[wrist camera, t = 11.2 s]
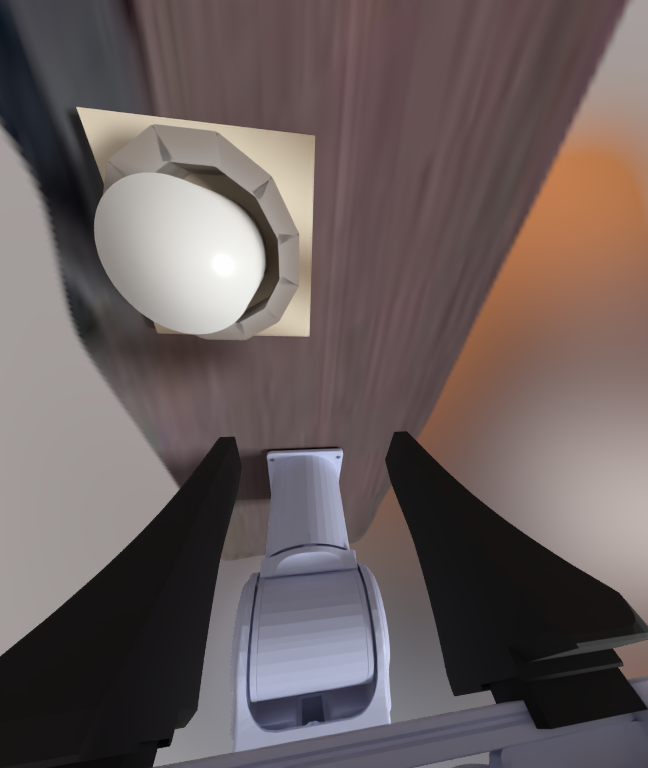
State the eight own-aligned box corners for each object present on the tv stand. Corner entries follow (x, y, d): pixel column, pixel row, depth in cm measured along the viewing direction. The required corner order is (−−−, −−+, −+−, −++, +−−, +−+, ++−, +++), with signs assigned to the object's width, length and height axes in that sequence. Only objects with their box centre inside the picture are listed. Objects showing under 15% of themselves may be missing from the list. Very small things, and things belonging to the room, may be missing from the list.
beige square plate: (308, 331, 17) (311, 352, 14) (164, 327, 16) (136, 350, 13) (313, 142, 12) (319, 115, 9) (93, 116, 11) (17, 75, 8)
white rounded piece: (271, 298, 15) (259, 335, 10) (188, 295, 14) (131, 333, 9) (265, 197, 12) (244, 180, 7) (160, 189, 11) (58, 163, 6)
